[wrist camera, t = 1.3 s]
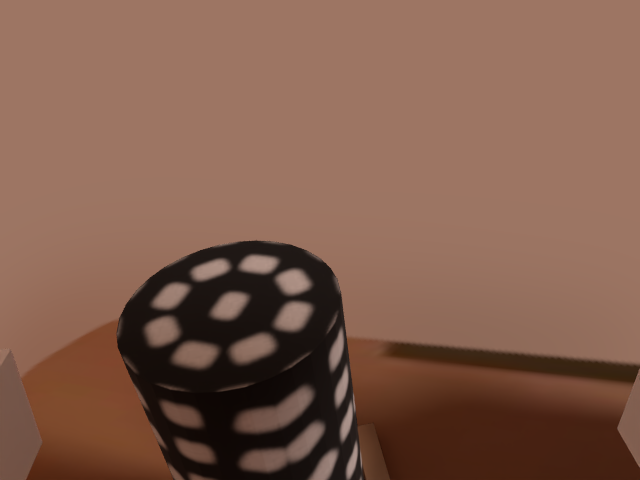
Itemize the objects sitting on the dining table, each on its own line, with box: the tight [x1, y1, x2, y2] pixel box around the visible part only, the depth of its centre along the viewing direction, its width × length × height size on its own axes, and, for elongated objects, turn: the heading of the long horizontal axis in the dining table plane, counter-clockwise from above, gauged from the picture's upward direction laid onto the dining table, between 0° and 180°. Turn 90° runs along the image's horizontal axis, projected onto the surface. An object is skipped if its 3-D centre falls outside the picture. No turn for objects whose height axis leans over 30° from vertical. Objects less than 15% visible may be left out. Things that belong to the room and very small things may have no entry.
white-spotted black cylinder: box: [117, 241, 364, 480], centre depth 28 cm, size 8×8×20 cm
